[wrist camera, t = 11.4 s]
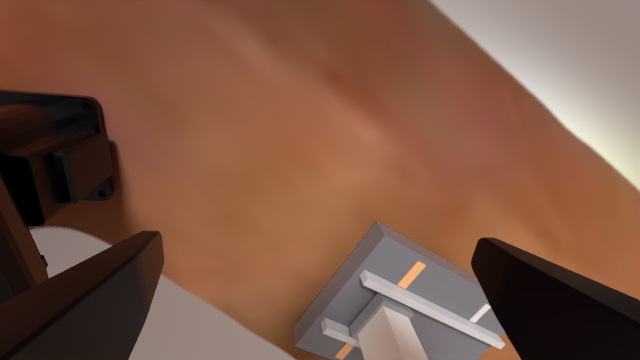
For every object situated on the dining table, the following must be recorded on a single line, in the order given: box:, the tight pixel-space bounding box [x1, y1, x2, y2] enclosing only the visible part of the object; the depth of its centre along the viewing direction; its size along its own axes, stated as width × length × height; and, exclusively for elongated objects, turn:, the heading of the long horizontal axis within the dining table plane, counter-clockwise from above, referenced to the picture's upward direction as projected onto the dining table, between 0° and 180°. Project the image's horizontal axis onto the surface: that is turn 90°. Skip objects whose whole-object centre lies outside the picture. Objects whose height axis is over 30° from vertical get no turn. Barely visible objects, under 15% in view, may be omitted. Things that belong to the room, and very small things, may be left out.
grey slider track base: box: [293, 221, 505, 360], centre depth 27 cm, size 16×12×3 cm
